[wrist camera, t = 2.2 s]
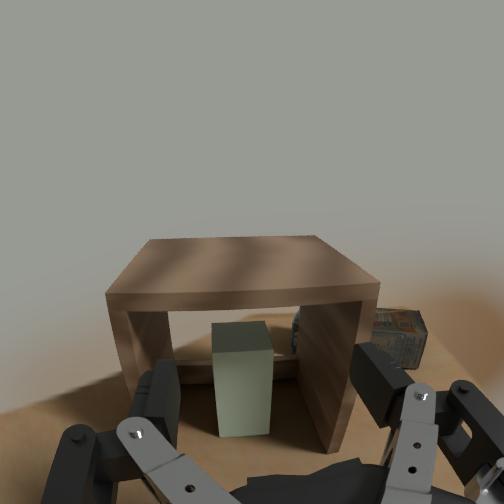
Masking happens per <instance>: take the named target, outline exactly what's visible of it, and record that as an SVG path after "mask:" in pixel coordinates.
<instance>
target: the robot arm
mask: <svg viewBox="0 0 504 504" xmlns="http://www.w3.org/2000/svg"><path fill="white" fill-rule="evenodd" d="M349 378H350V381H351V383H352V385H353V387H354V388H355V390H356V391H357V393H358V394H359V396H360V398H361V399H362V401H363V402H364V404H365V406H366V407H367V409H368V410H369V412H370V414H371V415H372V417H373V418H374V420H375V422H376V423H377V425H378V426H379V428H384V427H387V426H390V428H391V430H390V432H389V435H388V439H387V443H386V446H385V450H384V453H383V456H382V459H381V462H380V465H374V464H362V463H361V461H360V459H359V457H358V458H355V459H351V460H347V461H343V462H339V463H335V464H332V465H330V466H328V467H326V468H324V469H321V470H319V471H317V472H315V473H312V474H310V475H268V476H260V477H250V478H247V485H246V486H242V487H240V488H237V489H235V490H233V491H231V492H229V493H228V492H227V491H226V490H225V489H223V488H222V487H221V486H220V485H219V484H218V483H217V482H215V481H214V480H213V479H212V478H211V477H210V476H209V475H208V474H207V473H206V472H204V471H203V470H202V469H201V468H200V467H199V466H198V465H197V464H196V463H195V462H194V461H193V460H192V459H191V458H190V457H189V456H188V455H186V454H182V455H181V454H179V453H178V452H177V451H176V447H177V434H178V422H179V411H180V401H181V391H180V384H179V379H178V373H177V368H176V362H175V359H158V360H157V362H156V366H155V370H146V371H145V372H144V373H143V374H142V376H141V377H140V378H139V381H138V385H137V388H136V391H135V395H134V398H133V402H132V405H131V409H130V413H129V416H128V418H127V419H125V420H123V421H122V422H121V423H120V424H119V425H118V427H117V429H116V430H113V431H107V432H100V433H95V432H94V430H93V429H92V428H91V427H89V426H87V425H83V424H77V425H73V426H70V427H69V428H67V429H66V430H65V431H64V432H63V434H62V437H61V439H60V442H59V445H58V448H57V451H56V454H55V457H54V460H53V463H52V466H51V470H50V473H49V476H48V479H47V483H46V486H45V490H44V493H43V497H42V501H41V504H116V500H117V491H118V482H120V481H127V480H133V479H139V478H140V480H141V481H142V482H143V484H144V485H145V486H146V488H147V489H148V490H149V491H150V493H151V494H152V495H153V496H154V498H155V499H156V500H157V501H158V502H159V504H504V416H503V415H502V414H501V413H500V412H499V411H498V409H497V408H496V407H495V406H494V405H493V404H492V403H491V402H490V401H489V400H488V399H487V398H486V397H485V396H484V394H483V393H482V392H481V391H480V390H479V389H478V388H477V387H476V386H475V385H474V384H473V383H471V382H469V381H466V380H457V381H455V382H453V383H452V385H451V387H450V389H449V391H437V392H435V390H434V389H433V388H432V387H431V386H429V385H427V384H424V383H415V382H414V381H413V380H412V378H411V377H410V376H409V375H408V374H407V373H406V372H405V371H404V369H403V368H402V367H400V365H399V364H398V363H397V362H396V361H395V359H394V358H393V357H392V356H391V355H390V354H388V353H386V352H385V351H383V350H378V349H377V347H376V346H375V345H374V344H373V343H372V342H364V343H358V344H355V345H354V348H353V353H352V358H351V363H350V369H349ZM463 421H465V423H466V424H467V425H468V426H469V428H470V429H471V431H472V439H471V438H470V437H469V435H468V434H467V433H466V431H465V430H464V429H463V427H462V426H461V424H462V423H463ZM437 444H438V446H439V447H440V449H441V451H442V452H443V454H444V455H445V457H446V458H447V460H448V461H449V463H450V464H451V466H452V468H453V469H454V471H455V472H456V474H457V476H458V477H459V479H460V480H461V482H462V483H463V485H464V487H465V489H464V496H465V497H463V496H460V495H456V494H453V493H450V492H448V491H445V490H442V489H439V488H436V487H434V486H431V483H432V477H433V471H434V464H435V457H436V449H437Z"/></svg>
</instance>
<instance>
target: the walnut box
mask: <svg viewBox="0 0 504 504" xmlns="http://www.w3.org/2000/svg"><path fill="white" fill-rule="evenodd" d="M379 289H380V281H378V280H377V279H376V278H374V277H373V276H371V275H370V274H369V273H367V272H366V271H365V270H363V269H362V268H360V267H359V266H358V265H356V264H355V263H353V262H352V261H350V260H349V259H348V258H347V257H345V256H344V255H342V254H341V253H339V252H338V251H337V250H335V249H334V248H332V247H331V246H329V245H328V244H327V243H325V242H324V241H322V240H321V239H319V238H318V237H316V236H315V235H314V236H263V237H262V236H261V237H260V236H259V237H218V238H183V239H152V240H149V241H148V242H147V243H146V244H145V246H144V247H143V248H142V249H141V250H140V251H139V252H138V254H137V255H136V256H135V257H134V258H133V260H132V261H131V262H130V263H129V264H128V266H127V267H126V268H125V269H124V270H123V272H122V273H121V274H120V275H119V276H118V278H117V279H116V280H115V282H114V283H113V284H112V285H111V286H110V288H109V289H108V290H107V291H106V293H105V296H106V301H107V306H108V312H109V317H110V321H111V326H112V331H113V335H114V340H115V344H116V348H117V352H118V356H119V360H120V364H121V367H122V371H123V375H124V378H125V382H126V385H127V388H128V392H129V395H130V398H131V401H132V402H133V398H134V395H135V391H136V388H137V385H138V381H139V378H140V377H141V376H142V374H143V373H144V372H145V371H146V370H155V366H156V362H157V360H158V359H174V356H173V349H172V342H171V336H170V328H169V321H168V313H167V311H205V310H206V311H207V310H235V309H255V308H256V309H257V308H275V307H290V306H300V316H299V328H298V339H297V350H296V354H295V355H284V356H274V361H273V379H272V380H276V379H285V378H294V377H296V378H297V381H298V383H299V386H300V388H301V391H302V393H303V396H304V398H305V401H306V403H307V406H308V408H309V411H310V413H311V416H312V418H313V421H314V423H315V426H316V428H317V431H318V433H319V436H320V438H321V441H322V443H323V446H324V448H325V451H326V453H327V454H331V453H335V452H339V449H340V446H341V443H342V440H343V437H344V434H345V431H346V428H347V425H348V422H349V419H350V416H351V412H352V409H353V406H354V402H355V399H356V395H357V391H356V390H355V388H354V387H353V385H352V383H351V381H350V378H349V369H350V363H351V358H352V353H353V348H354V345H355V344H358V343H364V342H370V338H371V333H372V328H373V323H374V318H375V312H376V307H377V301H378V295H379ZM175 362H176V368H177V373H178V379H179V384H214V373H213V361H212V360H190V361H175Z"/></svg>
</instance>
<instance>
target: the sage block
mask: <svg viewBox="0 0 504 504" xmlns="http://www.w3.org/2000/svg"><path fill="white" fill-rule="evenodd" d="M212 361H213V373H214V385H215V396H216V407H217V417H218V426H219V436H220V437H239V436H252V435H263V434H269V426H270V412H271V396H272V379H273V361H274V348H273V345H272V342H271V339H270V336H269V333H268V330H267V327H266V324H265V321H250V322H229V323H212Z"/></svg>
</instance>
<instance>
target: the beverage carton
mask: <svg viewBox="0 0 504 504" xmlns="http://www.w3.org/2000/svg"><path fill="white" fill-rule="evenodd" d="M299 316H300V308H299V311H298V312H297V314H296V316H295V318H294V320H293V322H292V338H291V355H295V354H296V350H297V339H298V328H299ZM427 336H428V331H427V329H426V326H425V324H424V321H423V319H422V317H421V314H420V311H413V310H403V309H400V310H399V309H385V308H376V312H375V318H374V323H373V328H372V333H371V338H370V342H372V343H373V344H374V345H375V346H376V347H377V349H378V350H383V351H385V352H386V353H388V354H390V355H391V356H392V357H393V358H394V359H395V361H396V362H397V363H398V364H399V365H400V367H402V368H411V369H418V367H419V364H420V361H421V358H422V355H423V351H424V348H425V344H426V340H427Z"/></svg>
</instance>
